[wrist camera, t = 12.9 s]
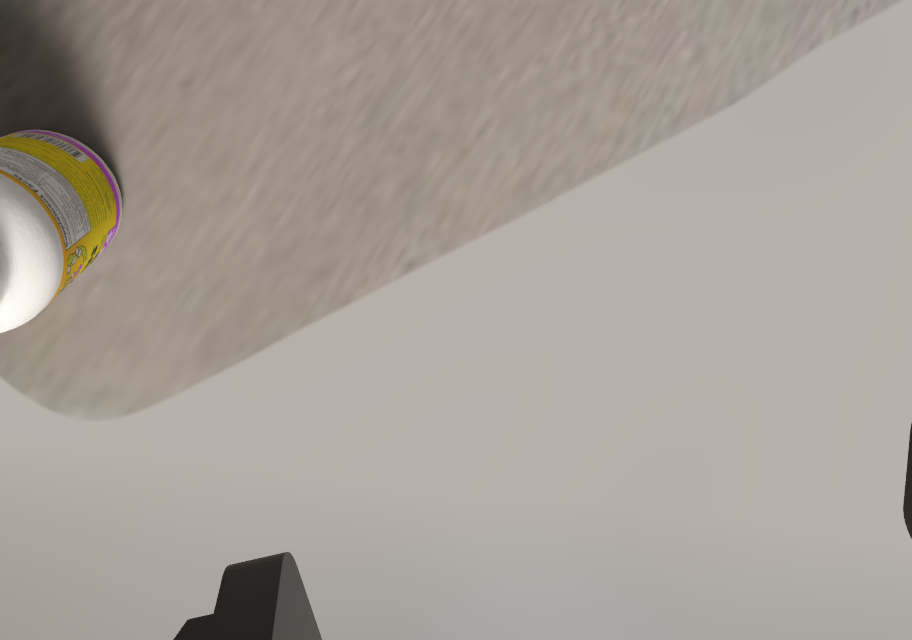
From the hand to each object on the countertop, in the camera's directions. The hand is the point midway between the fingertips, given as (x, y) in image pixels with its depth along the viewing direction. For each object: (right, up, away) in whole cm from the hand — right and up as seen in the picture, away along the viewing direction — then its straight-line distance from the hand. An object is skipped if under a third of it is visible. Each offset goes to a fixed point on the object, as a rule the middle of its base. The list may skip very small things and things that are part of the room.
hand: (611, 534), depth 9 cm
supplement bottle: (-22, +9, +27) cm, 35 cm away
